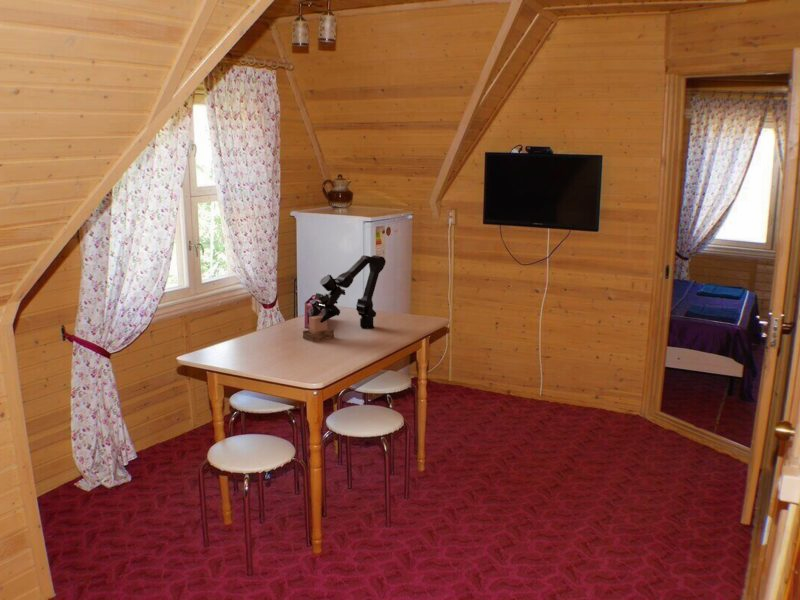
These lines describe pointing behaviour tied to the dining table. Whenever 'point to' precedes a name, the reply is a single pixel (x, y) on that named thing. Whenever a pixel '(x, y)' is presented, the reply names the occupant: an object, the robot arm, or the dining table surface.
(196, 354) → the dining table surface
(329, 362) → the dining table surface
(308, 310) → the gum box
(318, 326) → the terracotta block
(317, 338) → the walnut rack
